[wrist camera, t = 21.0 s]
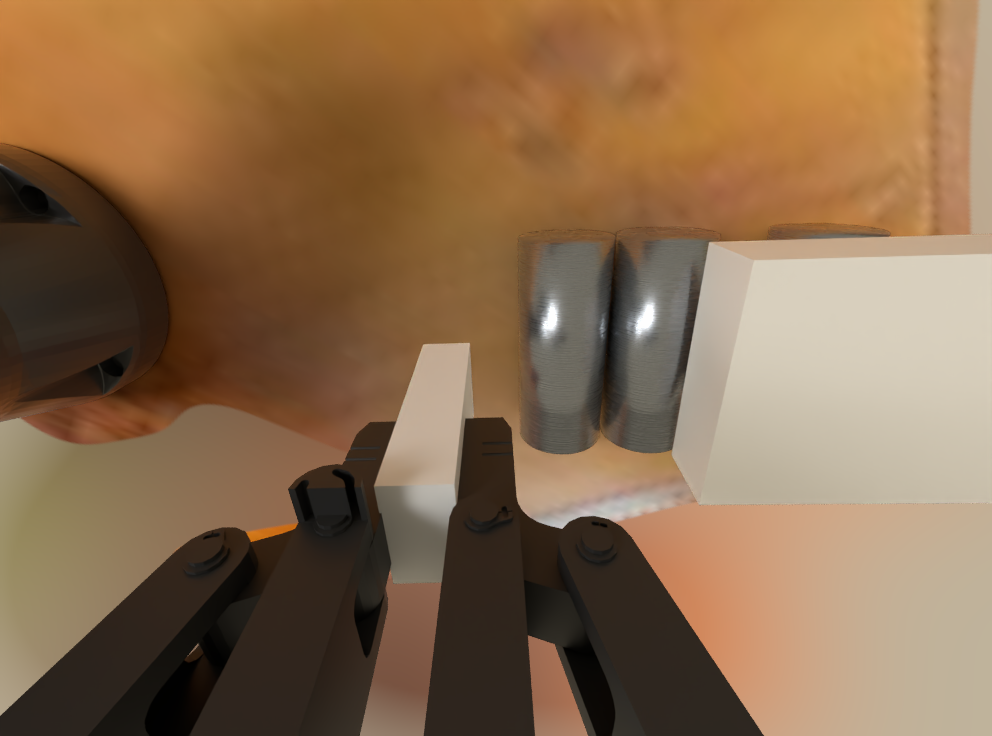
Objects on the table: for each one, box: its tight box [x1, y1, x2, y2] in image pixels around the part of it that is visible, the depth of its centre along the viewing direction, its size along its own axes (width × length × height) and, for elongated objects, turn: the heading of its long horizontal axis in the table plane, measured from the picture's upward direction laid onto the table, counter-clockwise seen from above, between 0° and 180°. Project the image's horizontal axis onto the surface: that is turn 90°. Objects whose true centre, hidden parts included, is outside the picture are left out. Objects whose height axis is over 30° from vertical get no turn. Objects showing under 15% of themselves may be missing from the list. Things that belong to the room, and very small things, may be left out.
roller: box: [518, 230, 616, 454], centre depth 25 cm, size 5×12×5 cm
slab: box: [672, 234, 992, 505], centre depth 20 cm, size 16×12×4 cm
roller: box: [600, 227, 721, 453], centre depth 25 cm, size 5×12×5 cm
